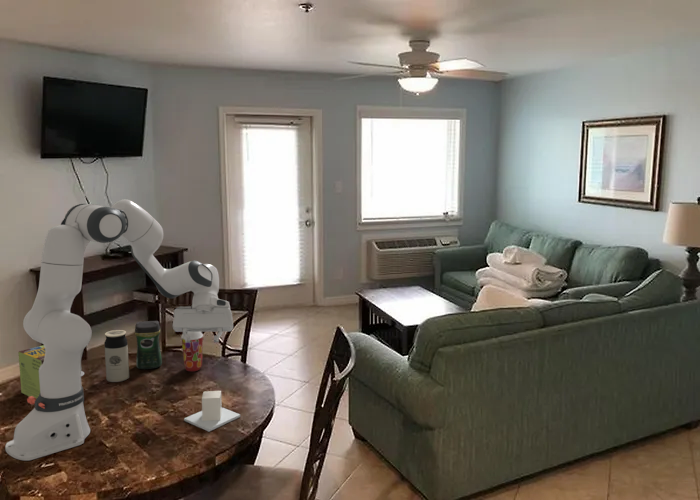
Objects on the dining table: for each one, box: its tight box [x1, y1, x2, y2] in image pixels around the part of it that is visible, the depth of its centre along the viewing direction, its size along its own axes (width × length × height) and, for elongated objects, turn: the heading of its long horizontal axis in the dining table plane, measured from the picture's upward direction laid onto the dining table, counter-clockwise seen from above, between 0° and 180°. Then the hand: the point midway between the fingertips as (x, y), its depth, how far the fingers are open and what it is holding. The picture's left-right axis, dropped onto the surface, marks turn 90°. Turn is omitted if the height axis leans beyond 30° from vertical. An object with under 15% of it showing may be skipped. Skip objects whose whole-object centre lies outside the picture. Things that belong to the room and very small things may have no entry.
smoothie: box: [180, 332, 204, 372], centre depth 228 cm, size 8×8×20 cm
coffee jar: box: [134, 320, 163, 370], centre depth 231 cm, size 10×8×19 cm
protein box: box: [18, 344, 45, 399], centre depth 204 cm, size 10×15×16 cm
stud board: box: [183, 407, 241, 432], centre depth 187 cm, size 13×12×6 cm
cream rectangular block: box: [201, 390, 223, 421], centre depth 187 cm, size 6×6×8 cm
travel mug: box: [104, 329, 130, 383], centre depth 218 cm, size 8×8×18 cm
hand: (201, 341), depth 196 cm, fingers open, 8 cm apart
